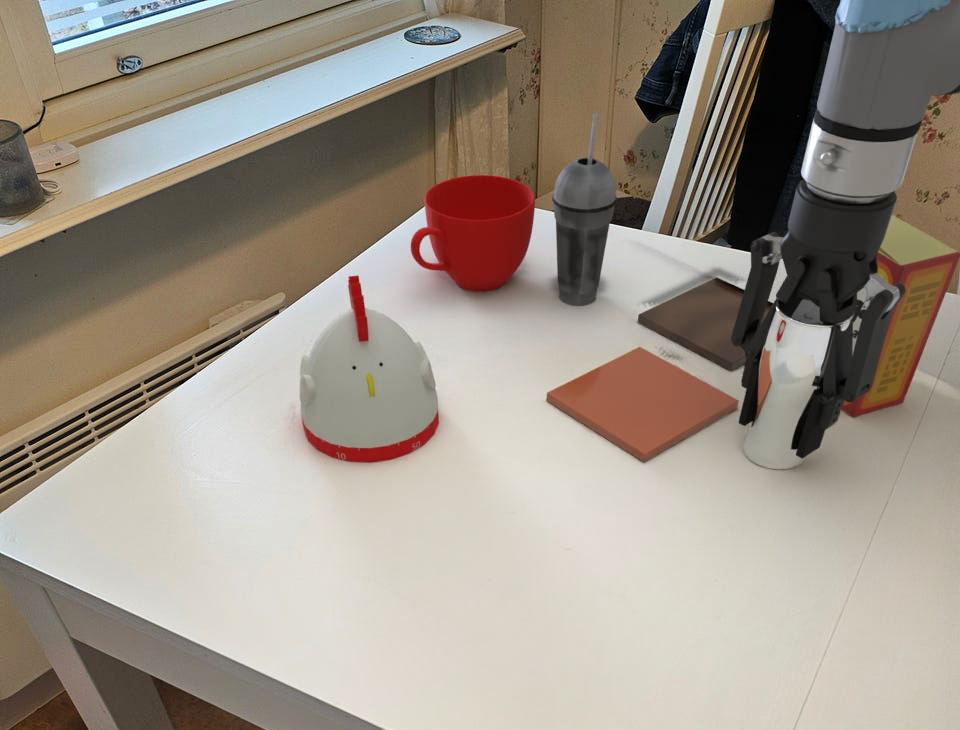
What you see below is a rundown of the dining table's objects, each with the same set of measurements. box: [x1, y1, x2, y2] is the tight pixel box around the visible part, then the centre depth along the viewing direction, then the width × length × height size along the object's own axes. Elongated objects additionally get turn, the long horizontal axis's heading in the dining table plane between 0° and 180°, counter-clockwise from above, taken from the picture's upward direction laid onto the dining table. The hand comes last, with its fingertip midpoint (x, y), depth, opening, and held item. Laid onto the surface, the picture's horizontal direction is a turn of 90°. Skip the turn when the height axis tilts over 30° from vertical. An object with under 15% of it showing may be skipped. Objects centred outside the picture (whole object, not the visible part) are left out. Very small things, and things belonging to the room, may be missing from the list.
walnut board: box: [636, 276, 774, 372], centre depth 104 cm, size 14×14×1 cm
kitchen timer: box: [299, 275, 440, 463], centre depth 87 cm, size 14×14×15 cm
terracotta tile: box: [545, 346, 740, 463], centre depth 93 cm, size 14×14×1 cm
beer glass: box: [742, 299, 854, 470], centre depth 82 cm, size 7×7×15 cm
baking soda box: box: [841, 214, 960, 418], centre depth 89 cm, size 10×6×16 cm
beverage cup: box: [551, 111, 618, 307], centre depth 102 cm, size 7×7×20 cm
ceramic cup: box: [410, 174, 536, 293], centre depth 108 cm, size 13×17×10 cm
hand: (778, 434), depth 87 cm, fingers closed on beer glass, 6 cm apart
